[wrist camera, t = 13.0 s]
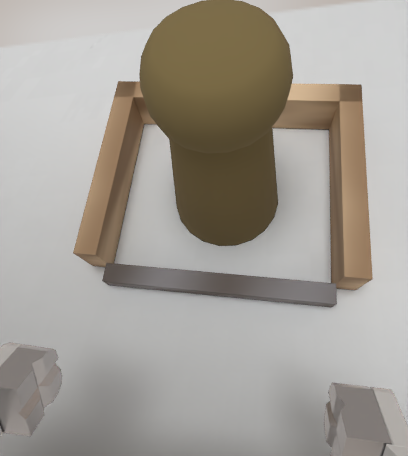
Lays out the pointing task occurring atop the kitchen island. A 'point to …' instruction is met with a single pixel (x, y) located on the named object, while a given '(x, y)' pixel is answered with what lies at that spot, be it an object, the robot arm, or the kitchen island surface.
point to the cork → (219, 113)
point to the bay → (229, 283)
